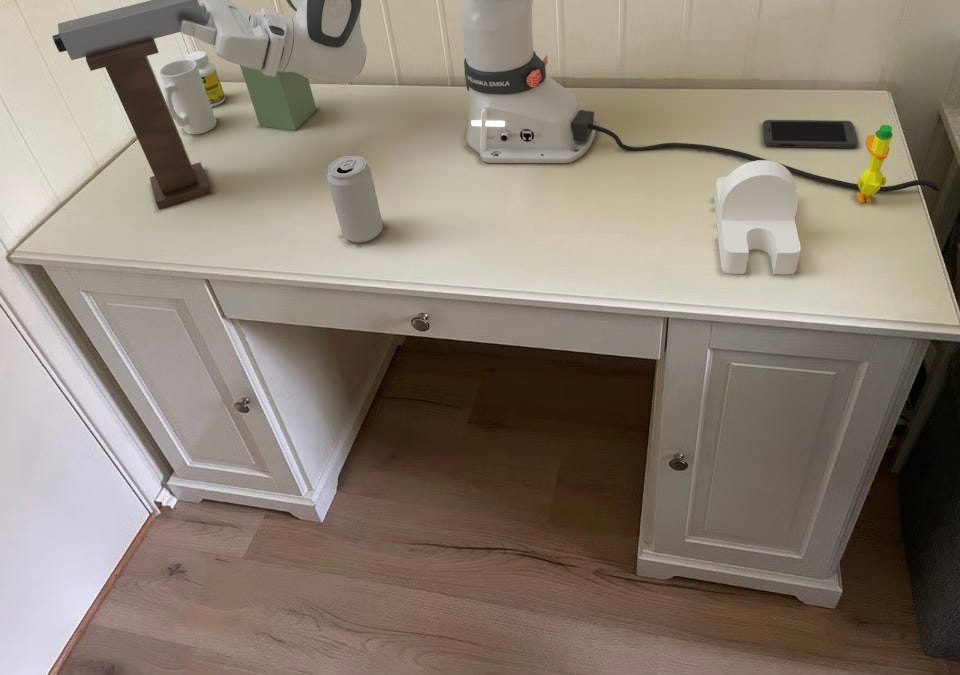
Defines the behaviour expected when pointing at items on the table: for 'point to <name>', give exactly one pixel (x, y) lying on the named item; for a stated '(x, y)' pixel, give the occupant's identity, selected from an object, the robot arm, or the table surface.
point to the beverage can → (355, 198)
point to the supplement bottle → (208, 77)
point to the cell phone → (809, 133)
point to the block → (279, 98)
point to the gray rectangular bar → (125, 26)
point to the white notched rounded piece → (757, 216)
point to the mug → (187, 96)
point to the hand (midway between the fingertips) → (177, 15)
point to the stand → (152, 123)
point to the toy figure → (874, 163)
